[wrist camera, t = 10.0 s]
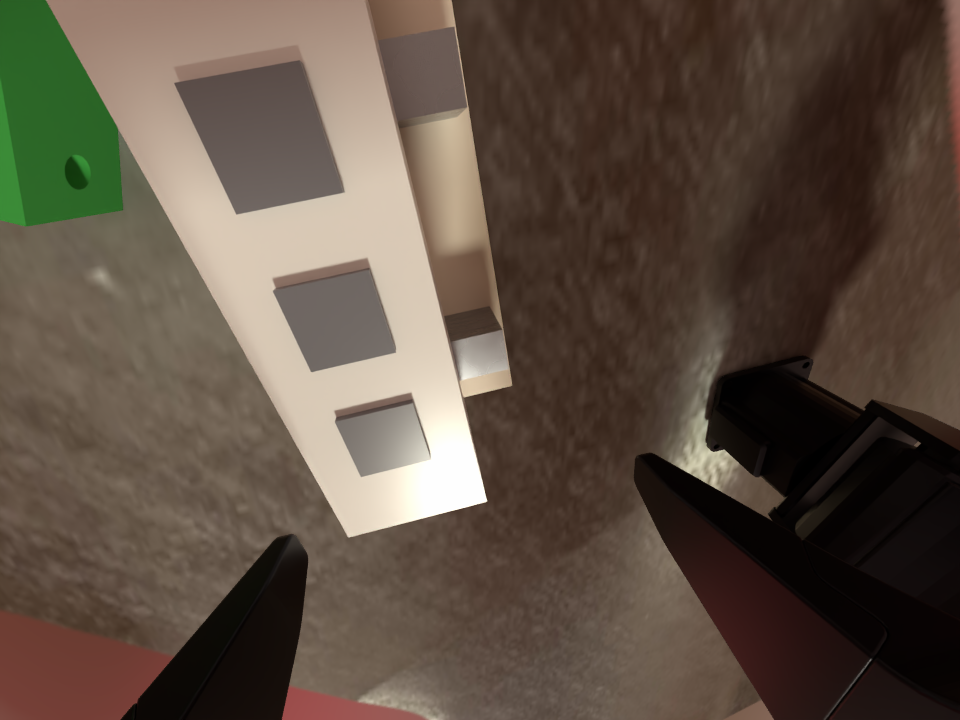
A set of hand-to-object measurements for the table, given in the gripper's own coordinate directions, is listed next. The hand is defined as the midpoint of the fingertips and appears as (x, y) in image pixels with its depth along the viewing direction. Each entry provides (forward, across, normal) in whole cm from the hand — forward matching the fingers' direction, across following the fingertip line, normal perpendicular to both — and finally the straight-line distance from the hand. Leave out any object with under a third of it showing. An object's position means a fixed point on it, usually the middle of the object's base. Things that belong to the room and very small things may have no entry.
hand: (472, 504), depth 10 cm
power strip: (+8, +2, -5) cm, 9 cm away
